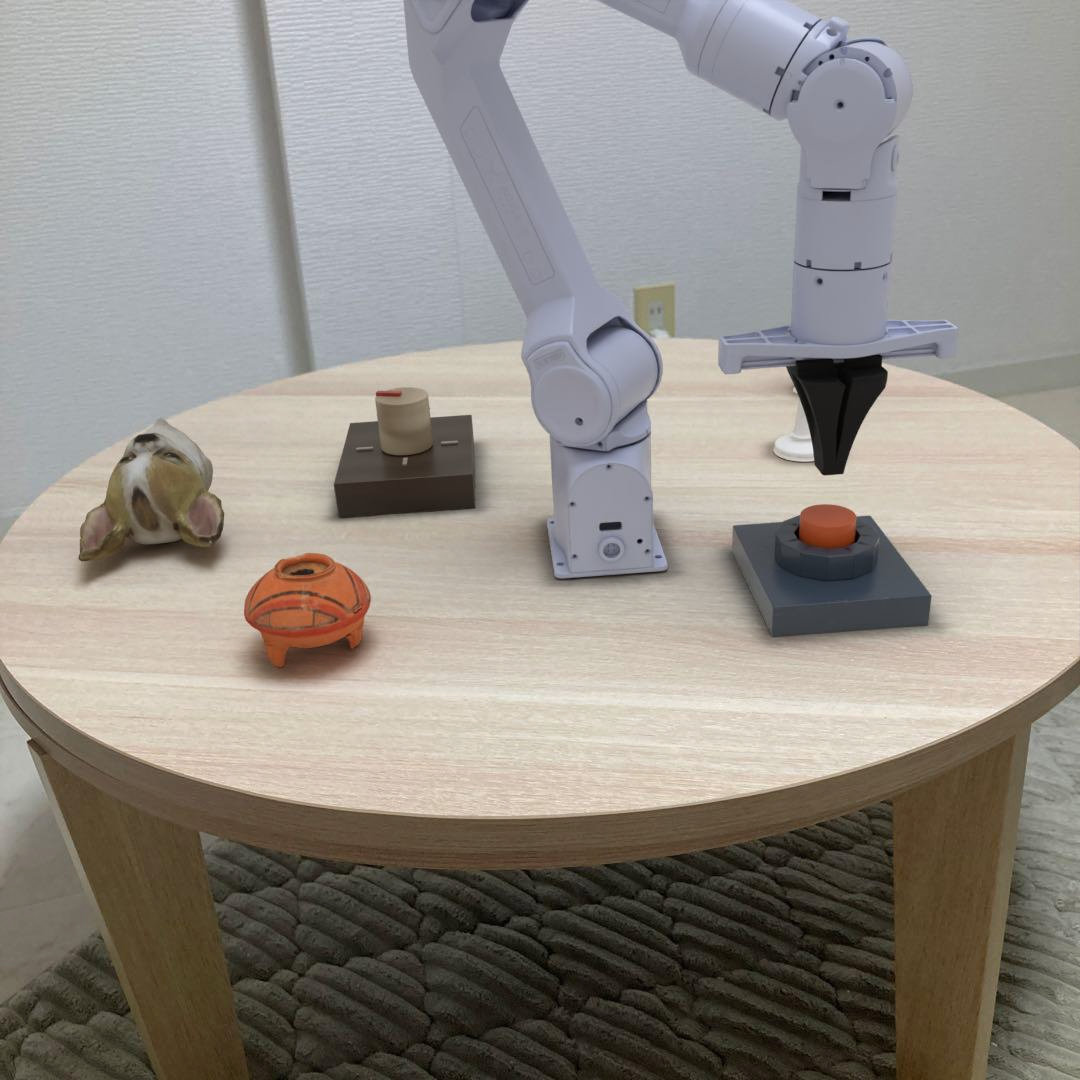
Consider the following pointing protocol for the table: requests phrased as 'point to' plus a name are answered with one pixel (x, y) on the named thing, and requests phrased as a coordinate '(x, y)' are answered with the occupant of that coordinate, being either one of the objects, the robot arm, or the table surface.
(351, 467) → the panel
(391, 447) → the knob
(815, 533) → the button
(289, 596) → the pot
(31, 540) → the table surface
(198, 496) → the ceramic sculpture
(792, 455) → the chess piece
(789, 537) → the button box
